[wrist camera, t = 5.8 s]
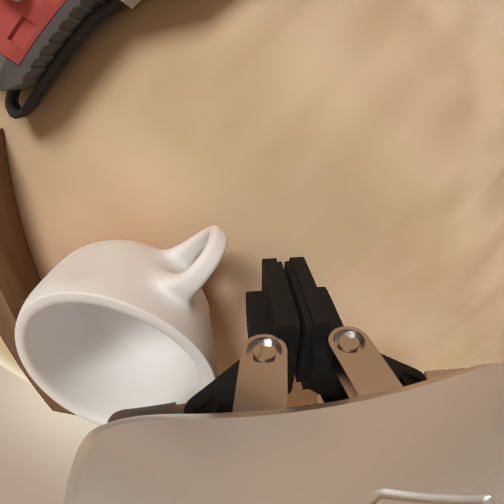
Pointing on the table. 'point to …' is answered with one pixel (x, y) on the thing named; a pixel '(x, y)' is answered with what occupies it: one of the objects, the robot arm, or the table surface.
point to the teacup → (122, 325)
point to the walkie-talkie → (44, 42)
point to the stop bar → (15, 270)
